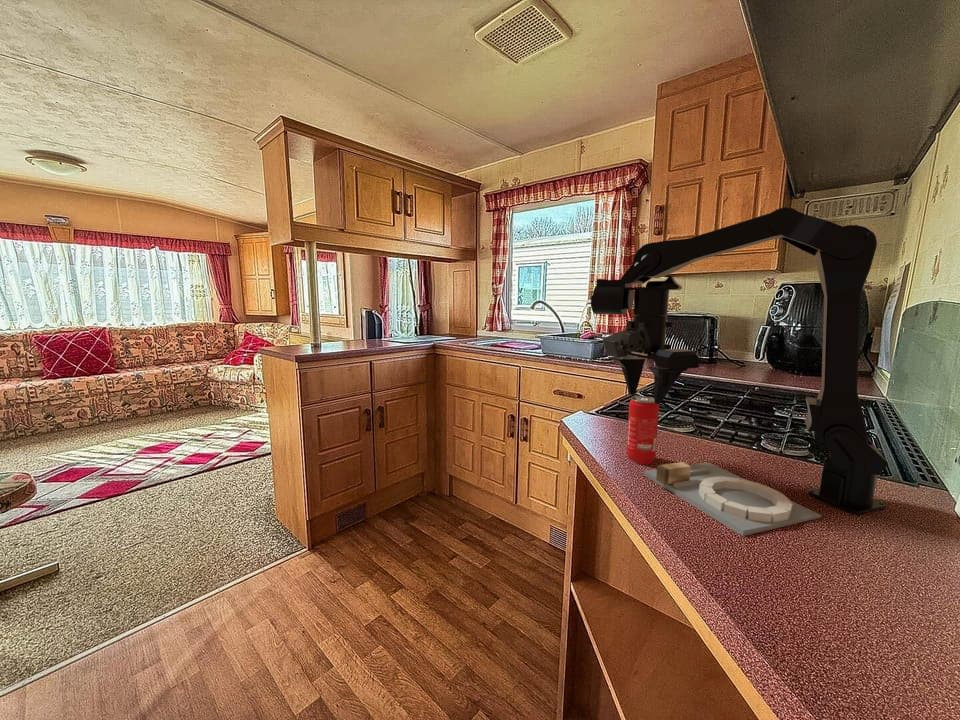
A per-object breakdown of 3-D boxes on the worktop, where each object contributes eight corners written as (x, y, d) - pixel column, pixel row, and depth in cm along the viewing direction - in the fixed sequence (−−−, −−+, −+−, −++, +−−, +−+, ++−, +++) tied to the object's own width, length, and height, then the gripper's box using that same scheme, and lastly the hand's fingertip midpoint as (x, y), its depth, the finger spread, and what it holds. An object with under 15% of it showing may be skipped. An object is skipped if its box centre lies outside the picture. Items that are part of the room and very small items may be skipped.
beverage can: (624, 461, 75) (628, 400, 73) (627, 452, 79) (631, 394, 77) (653, 467, 72) (658, 403, 70) (656, 457, 77) (660, 397, 75)
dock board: (707, 466, 73) (708, 455, 72) (820, 520, 55) (822, 507, 54) (643, 475, 69) (644, 464, 69) (742, 536, 51) (744, 522, 50)
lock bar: (681, 476, 66) (682, 462, 66) (689, 480, 64) (690, 466, 64) (656, 479, 65) (657, 465, 64) (664, 484, 63) (665, 469, 62)
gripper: (583, 314, 78) (580, 390, 81) (647, 317, 61) (641, 415, 63) (631, 314, 81) (627, 387, 84) (705, 317, 64) (697, 410, 66)
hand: (644, 398), depth 74 cm, fingers open, 7 cm apart
